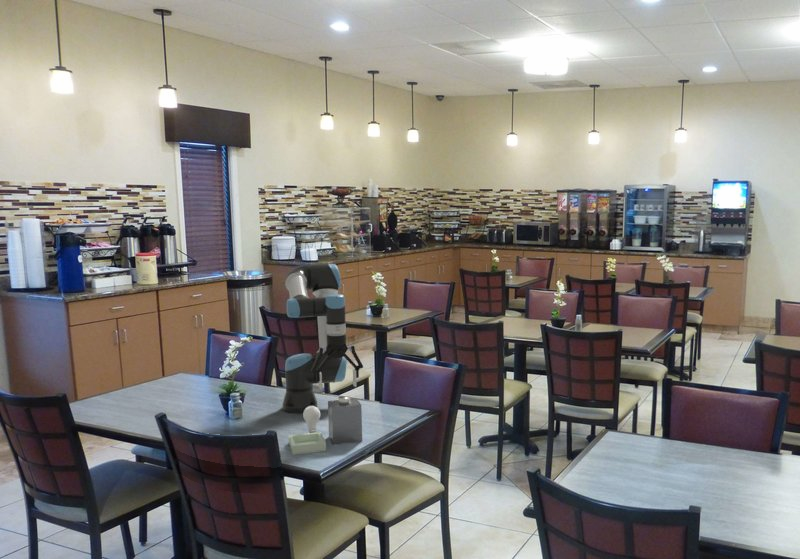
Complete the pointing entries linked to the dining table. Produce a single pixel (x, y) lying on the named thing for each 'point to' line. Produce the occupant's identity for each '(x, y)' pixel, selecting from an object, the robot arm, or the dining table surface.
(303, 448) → the tray
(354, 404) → the housing
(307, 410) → the light bulb
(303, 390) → the robot arm
